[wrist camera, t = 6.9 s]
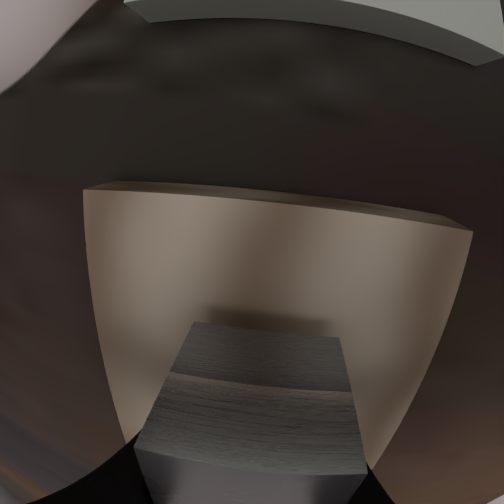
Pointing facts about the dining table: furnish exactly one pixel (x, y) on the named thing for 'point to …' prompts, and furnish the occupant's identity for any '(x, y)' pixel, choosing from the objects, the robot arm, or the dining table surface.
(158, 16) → the stand
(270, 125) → the dining table surface
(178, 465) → the block
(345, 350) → the stand
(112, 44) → the dining table surface
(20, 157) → the dining table surface
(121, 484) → the robot arm
